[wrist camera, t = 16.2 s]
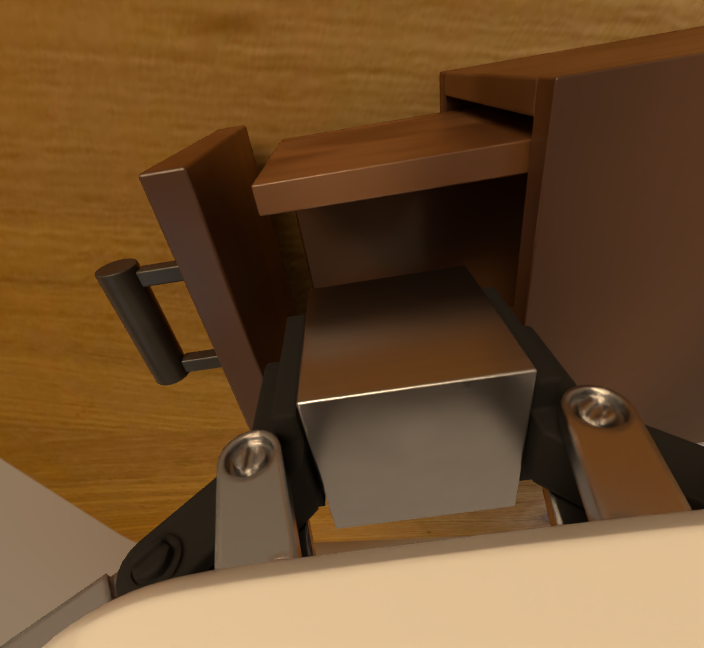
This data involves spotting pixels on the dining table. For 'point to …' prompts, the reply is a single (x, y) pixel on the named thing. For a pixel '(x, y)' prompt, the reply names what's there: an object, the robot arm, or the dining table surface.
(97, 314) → the dining table surface
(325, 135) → the drawer
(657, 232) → the cabinet
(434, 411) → the block
